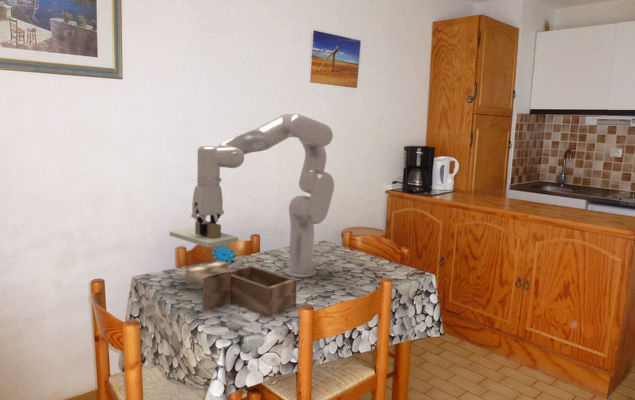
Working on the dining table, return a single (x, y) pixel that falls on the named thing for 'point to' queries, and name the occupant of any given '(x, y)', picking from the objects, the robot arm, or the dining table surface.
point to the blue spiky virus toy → (223, 254)
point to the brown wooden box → (250, 290)
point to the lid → (210, 240)
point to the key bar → (206, 270)
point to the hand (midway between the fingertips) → (207, 233)
